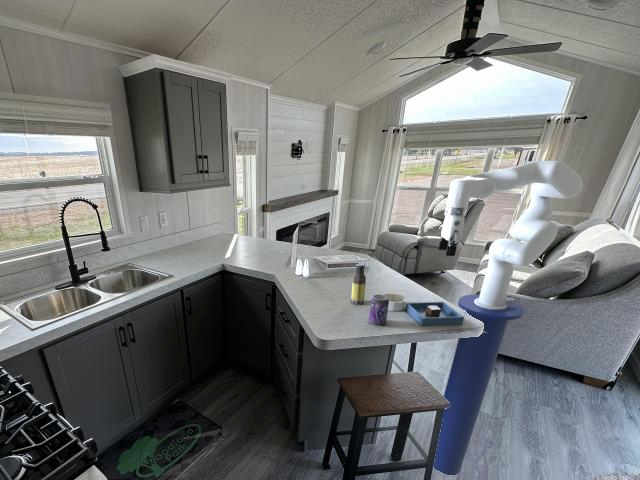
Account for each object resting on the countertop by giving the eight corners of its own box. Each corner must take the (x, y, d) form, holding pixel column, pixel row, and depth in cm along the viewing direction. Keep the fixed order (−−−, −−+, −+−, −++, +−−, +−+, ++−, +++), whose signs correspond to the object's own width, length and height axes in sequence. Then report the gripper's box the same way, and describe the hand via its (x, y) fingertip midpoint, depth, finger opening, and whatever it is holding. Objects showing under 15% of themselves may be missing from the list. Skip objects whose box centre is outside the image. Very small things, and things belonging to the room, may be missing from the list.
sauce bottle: (363, 300, 167) (367, 262, 159) (364, 305, 161) (369, 266, 153) (350, 299, 168) (354, 262, 160) (350, 304, 163) (354, 266, 155)
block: (434, 313, 149) (436, 305, 147) (439, 317, 145) (441, 309, 144) (425, 313, 149) (427, 305, 147) (430, 317, 145) (431, 309, 144)
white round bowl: (398, 301, 164) (400, 293, 162) (408, 310, 153) (410, 302, 152) (376, 302, 164) (377, 293, 162) (385, 311, 154) (386, 302, 152)
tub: (441, 308, 154) (443, 301, 153) (462, 324, 140) (464, 317, 138) (404, 309, 155) (406, 302, 154) (421, 325, 140) (423, 318, 139)
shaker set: (313, 277, 200) (314, 260, 196) (308, 279, 198) (308, 261, 194) (300, 272, 210) (300, 256, 205) (295, 274, 208) (295, 257, 203)
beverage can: (370, 325, 142) (373, 300, 137) (367, 318, 148) (370, 294, 143) (387, 326, 141) (391, 300, 136) (383, 318, 147) (387, 294, 142)
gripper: (474, 215, 124) (463, 258, 131) (458, 208, 139) (448, 247, 146) (452, 214, 125) (442, 257, 132) (438, 208, 141) (430, 247, 148)
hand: (446, 252), depth 139 cm, fingers open, 9 cm apart
